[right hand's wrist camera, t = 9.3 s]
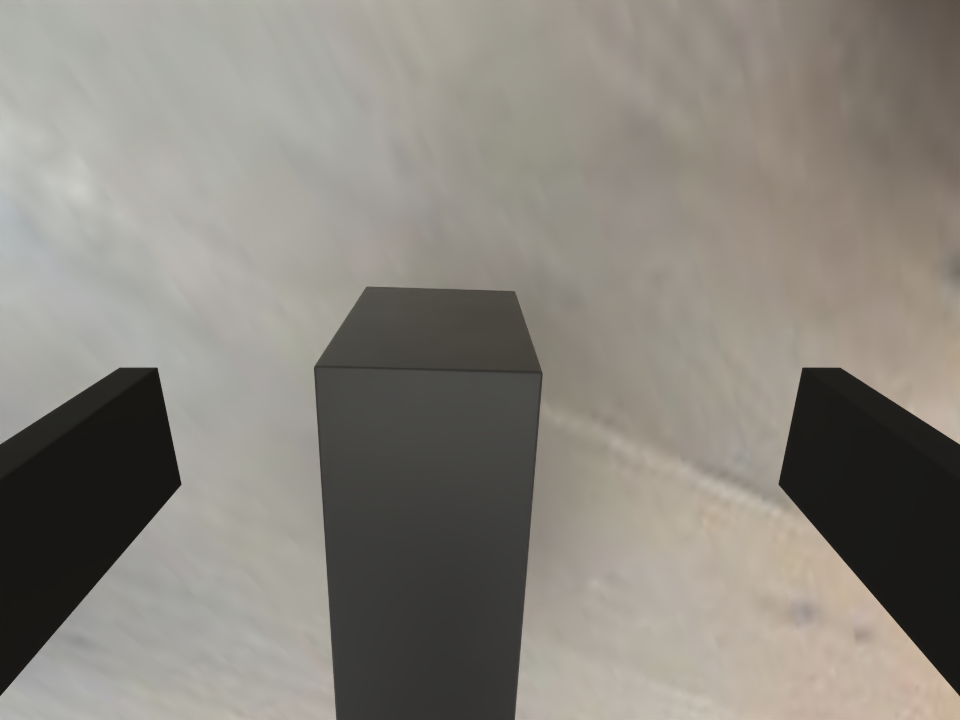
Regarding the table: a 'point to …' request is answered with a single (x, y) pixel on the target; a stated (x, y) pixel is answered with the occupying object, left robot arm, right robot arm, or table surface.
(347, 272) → the table surface
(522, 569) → the bar
